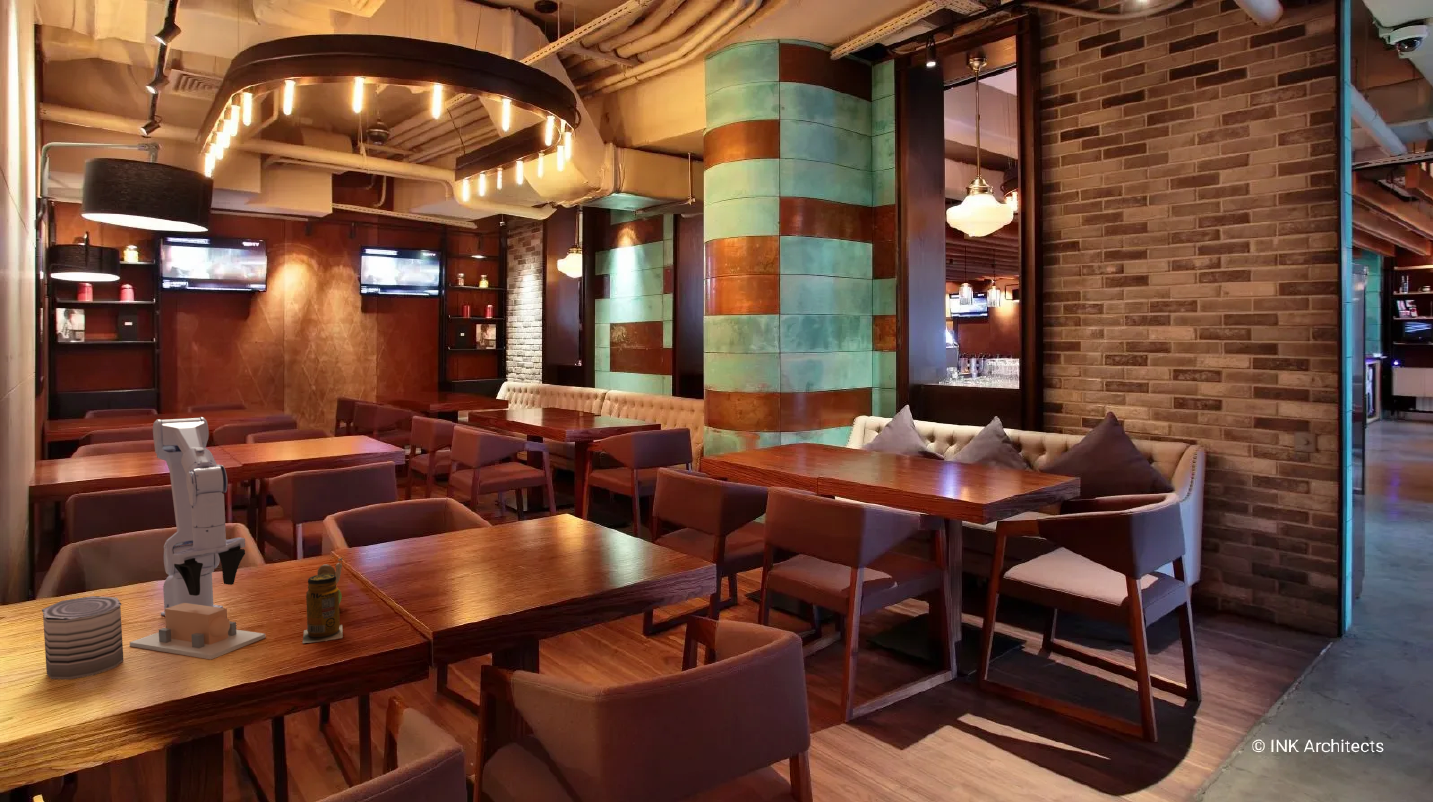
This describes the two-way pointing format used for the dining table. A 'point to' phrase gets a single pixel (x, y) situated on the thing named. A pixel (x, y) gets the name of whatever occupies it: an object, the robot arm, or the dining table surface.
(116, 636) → the can
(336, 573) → the snail figurine
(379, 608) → the dining table surface
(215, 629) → the block
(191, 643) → the cradle jig
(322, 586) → the condiment
